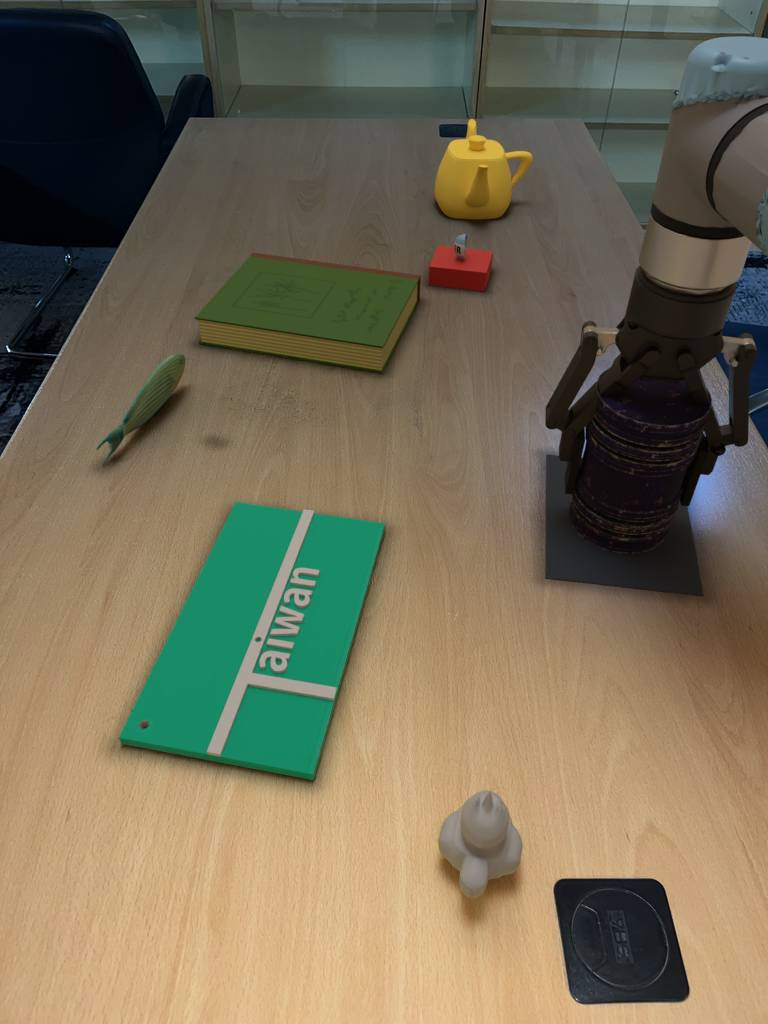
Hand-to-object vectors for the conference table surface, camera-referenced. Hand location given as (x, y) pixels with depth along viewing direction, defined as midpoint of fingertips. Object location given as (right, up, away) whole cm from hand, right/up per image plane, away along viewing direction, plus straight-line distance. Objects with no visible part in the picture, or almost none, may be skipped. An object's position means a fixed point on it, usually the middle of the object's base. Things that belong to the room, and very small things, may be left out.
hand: (625, 490), depth 77 cm
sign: (-33, -12, -7) cm, 36 cm away
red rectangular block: (-12, +32, +39) cm, 52 cm away
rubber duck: (-17, -26, -22) cm, 38 cm away
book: (-33, +23, +30) cm, 50 cm away
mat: (0, -3, +3) cm, 4 cm away
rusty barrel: (0, -3, +3) cm, 4 cm away
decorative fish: (-46, +6, +12) cm, 48 cm away
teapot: (-7, +49, +58) cm, 77 cm away
